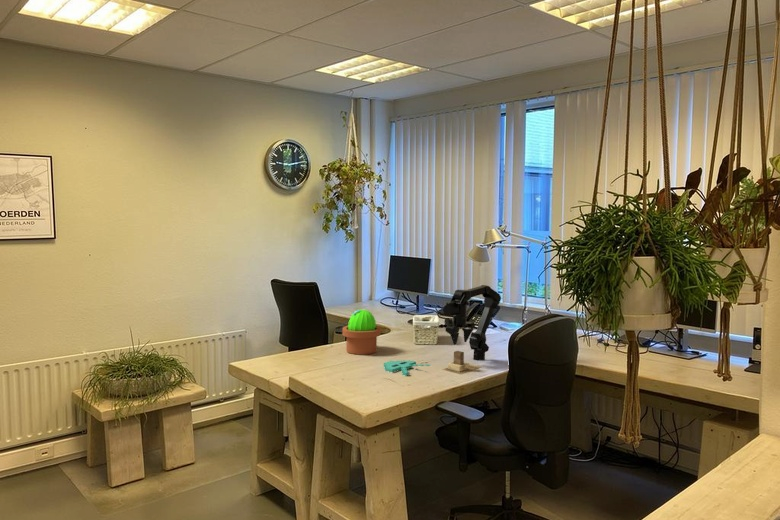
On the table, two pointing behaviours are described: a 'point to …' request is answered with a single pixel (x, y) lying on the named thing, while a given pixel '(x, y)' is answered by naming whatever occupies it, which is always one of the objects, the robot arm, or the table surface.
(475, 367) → the oak board
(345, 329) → the potted cactus
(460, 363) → the block
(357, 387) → the table surface
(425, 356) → the table surface
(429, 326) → the storage basket
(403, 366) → the alien figure
